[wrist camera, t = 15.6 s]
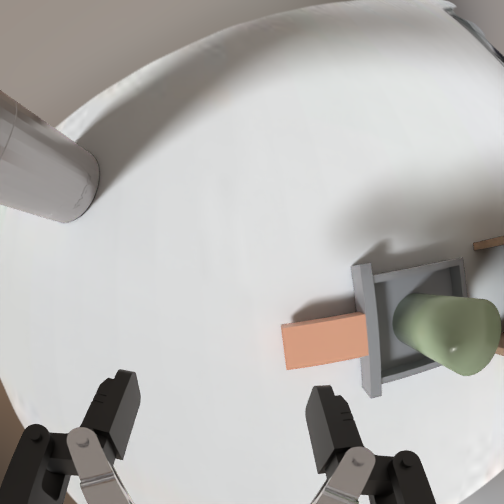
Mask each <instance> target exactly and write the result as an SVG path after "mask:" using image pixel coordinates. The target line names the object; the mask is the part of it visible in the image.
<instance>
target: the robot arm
mask: <svg viewBox="0 0 504 504" xmlns="http://www.w3.org/2000/svg"><path fill="white" fill-rule="evenodd" d="M98 182H99V166H98V163H97V160H96V159H95V157H94V156H93V155H92V154H91V153H89V152H88V151H86V150H85V149H84V148H82V147H81V146H79V145H78V144H76V143H75V142H74V141H72V140H71V139H69V138H68V137H67V136H65V135H64V134H62V133H61V132H59V131H58V130H57V129H55V128H54V127H52V126H51V125H49V124H48V123H47V122H45V121H44V120H42V119H41V118H39V117H38V116H36V115H35V114H34V113H32V112H31V111H29V110H28V109H26V108H25V107H24V106H22V105H21V104H20V103H18V102H17V101H15V100H14V99H12V98H11V97H9V96H8V95H6V94H5V93H3V92H2V91H1V90H0V204H1V205H4V206H7V207H10V208H14V209H17V210H20V211H23V212H27V213H30V214H33V215H37V216H40V217H43V218H47V219H50V220H54V221H57V222H61V223H68V222H71V221H74V220H75V219H77V218H78V217H80V216H81V215H82V214H83V213H84V212H85V211H86V209H87V208H88V207H89V205H90V204H91V202H92V200H93V198H94V196H95V193H96V190H97V187H98ZM140 399H141V396H140V390H139V386H138V381H137V376H136V373H135V372H131V371H126V370H121V369H119V370H118V372H117V374H116V376H115V378H114V379H111V378H107V379H106V380H105V381H104V382H103V383H101V384H100V386H99V388H98V390H97V392H96V394H95V396H94V398H93V401H92V403H91V405H90V407H89V409H88V411H87V413H86V415H85V418H84V420H83V422H82V424H81V426H80V427H79V428H75V429H73V430H72V431H70V432H69V433H67V434H63V433H49V431H48V430H47V429H46V428H45V427H44V426H42V425H39V424H33V425H30V426H28V427H27V428H26V429H25V430H24V432H23V434H22V436H21V439H20V441H19V443H18V445H17V448H16V450H15V452H14V454H13V457H12V459H11V462H10V464H9V467H8V469H7V472H6V474H5V477H4V480H3V482H2V485H1V488H0V504H63V502H64V498H65V494H66V491H67V487H68V483H69V480H70V476H71V475H77V476H79V478H80V480H81V483H80V487H81V490H82V492H83V494H84V496H85V499H86V501H87V503H88V504H135V503H134V502H133V500H132V499H131V497H130V495H129V494H128V492H127V490H126V489H125V487H124V485H123V483H122V481H121V479H120V478H119V476H118V474H117V472H116V470H115V468H114V466H113V464H114V461H115V458H116V459H120V460H123V458H124V454H125V451H126V448H127V444H128V441H129V438H130V434H131V431H132V428H133V425H134V421H135V418H136V415H137V412H138V409H139V406H140ZM306 421H307V426H308V430H309V435H310V439H311V444H312V448H313V453H314V458H315V462H316V467H317V472H318V474H321V473H326V476H327V479H326V481H325V482H324V484H323V485H322V487H321V488H320V490H319V491H318V493H317V494H316V496H315V497H314V499H313V500H312V502H311V503H310V504H359V501H358V498H359V496H360V495H368V496H369V500H370V504H436V502H435V499H434V496H433V493H432V491H431V488H430V485H429V482H428V479H427V477H426V474H425V471H424V469H423V466H422V464H421V461H420V459H419V457H418V456H417V455H416V454H415V453H414V452H411V451H406V450H405V451H400V452H398V453H397V454H396V455H395V456H394V457H390V456H378V455H374V454H373V453H372V452H371V451H370V450H369V449H367V448H365V447H364V446H363V443H362V441H361V438H360V435H359V432H358V429H357V427H356V424H355V421H354V420H353V416H352V413H351V410H350V408H349V405H348V403H347V402H346V401H345V400H344V398H343V397H342V396H341V395H339V396H335V395H334V392H333V389H332V387H331V386H330V385H325V386H314V387H313V389H312V392H311V395H310V397H309V400H308V403H307V406H306Z"/></svg>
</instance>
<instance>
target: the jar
mask: <svg viewBox="0 0 504 504" xmlns="http://www.w3.org/2000/svg"><path fill="white" fill-rule="evenodd" d="M392 326H393V331H394V334H395V336H396V337H397V339H398V340H399V341H400V342H402V343H403V344H405V345H407V346H409V347H411V348H412V349H414V350H416V351H418V352H420V353H421V354H423V355H425V356H427V357H429V358H431V359H432V360H434V361H436V362H438V363H440V364H441V365H443V366H445V367H447V368H449V369H450V370H452V371H454V372H456V373H458V374H460V375H463V376H470V375H474V374H476V373H478V372H480V371H481V370H482V369H483V368H485V367H486V366H487V364H488V363H489V362H490V361H491V359H492V358H493V356H494V354H495V352H496V350H497V348H498V345H499V341H500V337H501V319H500V315H499V312H498V310H497V308H496V307H495V305H494V304H493V303H492V302H490V301H488V300H485V299H476V298H465V297H455V296H445V295H435V294H426V293H413V294H410V295H408V296H406V297H405V298H403V299H402V300H401V301H400V303H399V304H398V305H397V307H396V309H395V311H394V314H393V320H392Z"/></svg>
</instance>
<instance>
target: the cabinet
mask: <svg viewBox="0 0 504 504" xmlns="http://www.w3.org/2000/svg"><path fill="white" fill-rule="evenodd" d="M499 245H504V236H501V237H497V238H493V239H488V240H484V241H480V242H475V243H473V246H474V250H478V249H484V248H489V247H494V246H499ZM495 353H496V354H499V355H502V356H504V332H502V333H501V337H500V341H499V345H498V348H497V350H496V352H495Z"/></svg>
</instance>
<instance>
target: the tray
mask: <svg viewBox="0 0 504 504" xmlns="http://www.w3.org/2000/svg"><path fill="white" fill-rule="evenodd" d="M351 272H352V279H353V287H354V294H355V303H356V312H354V313H349V314H344V315H338V316H333V317H327V318H321V319H315V320H308V321H302V322H295V323H289V324H282V325H281V330H282V338H283V345H284V353H285V361H286V369H287V370H291V369H298V368H305V367H311V366H317V365H323V364H328V363H334V362H339V361H344V360H349V359H354V358H359V357H361V372H362V388H363V389H364V390H365V391H366V393H367V394H368V395H369V397H370V398H375V397H379V396H382V390H381V384H384V383H387V382H391V381H395V380H398V379H402V378H405V377H408V376H412V375H415V374H418V373H421V372H424V371H427V370H430V369H433V368H436V367H439V366H441V364H440V363H438V362H436V361H434V360H432V359H431V358H429V357H427V356H425V355H423V354H421V353H420V352H418V351H416V350H414V349H412V348H411V347H409V346H407V345H405V344H403V343H402V342H400V341H399V340H398V339H397V337H396V336H395V334H394V331H393V326H392V320H393V314H394V311H395V309H396V307H397V305H398V304H399V303H400V301H401V300H402V299H403V298H405V297H406V296H408V295H410V294H413V293H426V294H435V295H445V296H455V297H465V298H467V288H466V278H465V270H464V262H463V258H458V259H451V260H445V261H441V262H436V263H431V264H426V265H421V266H416V267H411V268H406V269H401V270H396V271H391V272H385V273H380V274H374V275H373V274H372V268H371V263H366V264H360V265H355V266H351Z"/></svg>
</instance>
